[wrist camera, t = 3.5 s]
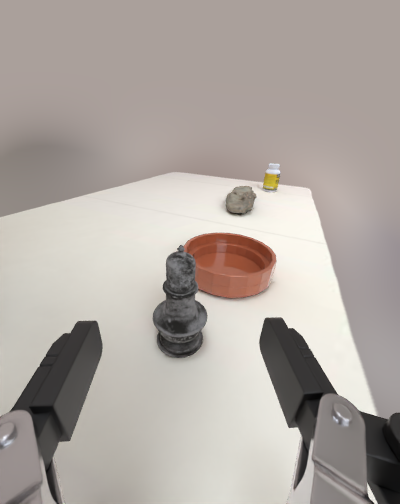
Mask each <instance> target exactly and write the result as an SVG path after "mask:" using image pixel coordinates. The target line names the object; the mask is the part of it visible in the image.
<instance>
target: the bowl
mask: <svg viewBox="0 0 400 504" xmlns="http://www.w3.org/2000/svg"><path fill="white" fill-rule="evenodd" d="M183 248H185V250H184V252H187V253H189V254H191V255H192V256H193V257H194V259H195V262H196V269H195V281H196V282H197V284H198V289H200V290H203V291H205V292H207V293H210V294H212V295H217V296H223V297H228V298H238V297H248V296H252V295H256V294H259V293H260V292H262V291H264V290H265V289H267V288H268V286H269V284H270V283H271V281H272V277H273V273H274V269H275V265H276V255H275V253H274V252H273V251H272V250H271V248H270V247H268V246H267V245H265V244H264V243H262V242H260V241H258V240H256V239H253V238H250V237H247V236H243V235H239V234H232V233H209V234H203V235H199V236H196V237H194V238H192V239H190V240H188V241H187V242H186V244H185V245H184V247H183Z"/></svg>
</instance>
